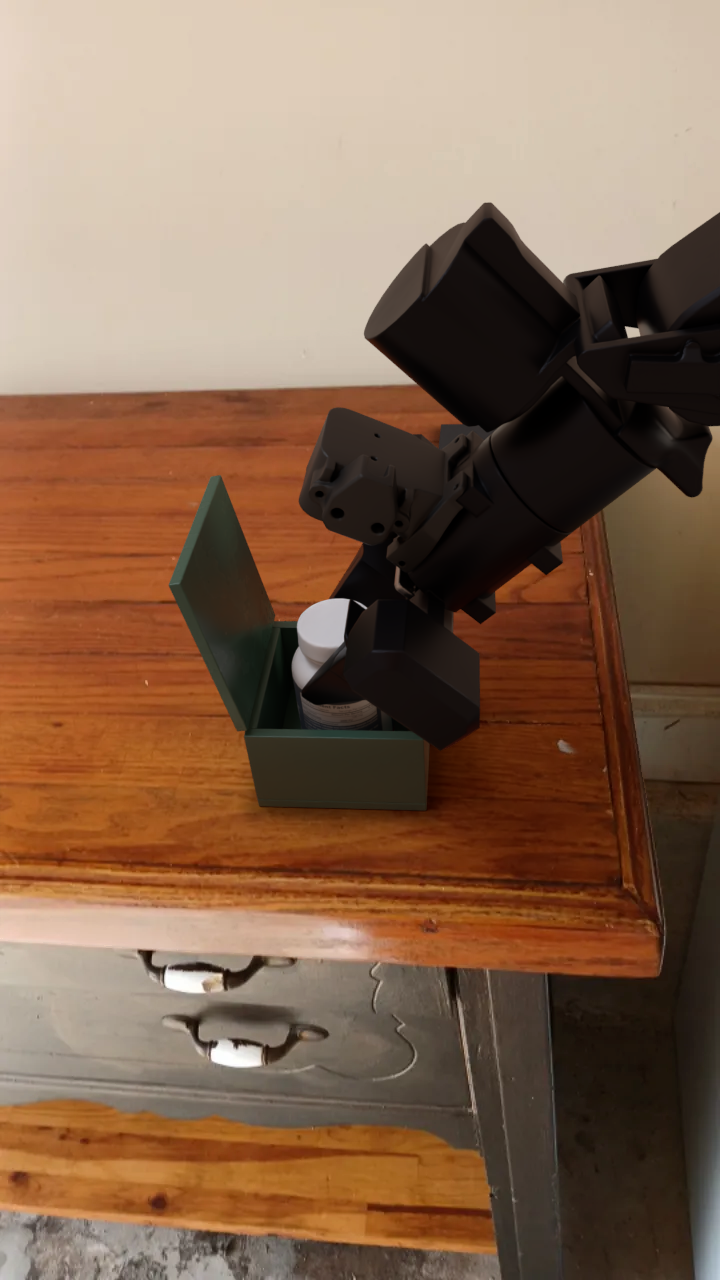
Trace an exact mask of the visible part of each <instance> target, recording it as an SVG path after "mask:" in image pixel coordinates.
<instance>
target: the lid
mask: <svg viewBox="0 0 720 1280" xmlns="http://www.w3.org/2000/svg"><path fill="white" fill-rule="evenodd" d="M168 588H169V589H170V592H171V594H172V596H173V598H174V600H175V603H176V605H177V606H178V607H177V608H178V609H179V612H180V613H181V615H182V618H183V619H184V621H185V624H186V626H187V629H188V630H189V632H190V635H191V637H192V639H193V641H194V643H195V645H196V647H197V649H198V651H199V654H200V655H201V658H202V660H203V662H204V665H205V666H206V668H207V670H208V673H209V675H210V677H211V679H212V682H213V683H214V686H215V687H216V690H217V692H218V694H219V696H220V698H221V700H222V703H223V705H224V707H225V710H226V711H227V713H228V715H229V717H230V720H231V722H232V724H233V726H234V728H235V730H236V732H245V731H247V730H248V726H249V722H250V718H251V714H252V710H253V705H254V701H255V697H256V693H257V689H258V685H259V681H260V677H261V673H262V668H263V664H264V660H265V656H266V652H267V648H268V644H269V640H270V636H271V632H272V627H273V623H274V621H275V619H276V614H275V611H274V608H273V605H272V603H271V600H270V597H269V595H268V593H267V590H266V587H265V585H264V583H263V580H262V577H261V575H260V572H259V569H258V567H257V564H256V562H255V560H254V556H253V554H252V551H251V549H250V546H249V544H248V541H247V539H246V536H245V533H244V531H243V528H242V525H241V524H240V521H239V519H238V515H237V514H236V510H235V507H234V505H233V503H232V500H231V497H230V495H229V492H228V490H227V487H226V485H225V482H224V480H223V477H222V475H221V474H219V475H212V476H210V477H209V480H208V483H207V485H206V488H205V490H204V492H203V495H202V498H201V500H200V503H199V505H198V508H197V510H196V513H195V516H194V518H193V521H192V524H191V526H190V529H189V531H188V533H187V536H186V539H185V542H184V544H183V547H182V549H181V551H180V553H179V556H178V560H177V562H176V565H175V567H174V569H173V572H172V574H171V577H170V580H169V582H168Z"/></svg>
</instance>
